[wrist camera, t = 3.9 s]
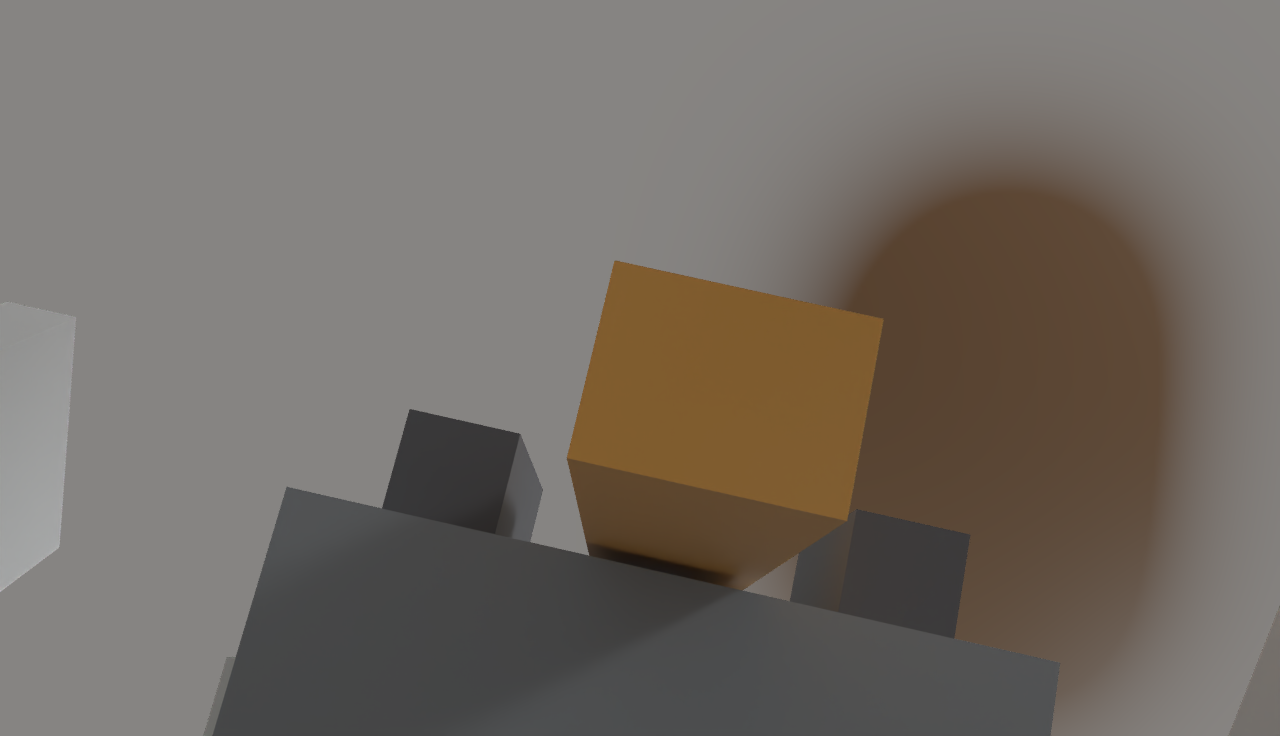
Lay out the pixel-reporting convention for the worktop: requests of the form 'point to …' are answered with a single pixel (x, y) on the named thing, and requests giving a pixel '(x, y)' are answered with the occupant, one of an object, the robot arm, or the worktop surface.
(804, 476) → the handle
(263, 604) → the breaker panel
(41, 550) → the robot arm
